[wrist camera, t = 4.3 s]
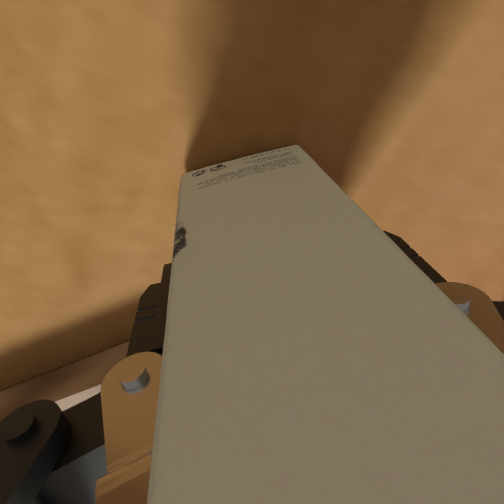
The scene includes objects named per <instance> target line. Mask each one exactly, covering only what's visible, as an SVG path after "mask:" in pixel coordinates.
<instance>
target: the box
mask: <svg viewBox="0 0 504 504" xmlns="http://www.w3.org/2000/svg"><path fill="white" fill-rule="evenodd" d="M147 504H504V354H503V353H502V352H501V351H500V350H499V349H498V348H497V347H496V346H495V345H494V344H493V343H492V341H491V340H490V339H489V338H488V337H487V336H486V335H485V334H484V333H483V332H482V331H481V330H480V329H479V328H478V327H477V326H476V325H475V324H474V323H473V322H472V321H471V320H470V319H469V318H468V317H467V316H466V315H465V314H464V313H463V312H462V311H461V310H460V309H459V308H458V307H457V306H456V305H455V304H454V303H453V302H452V301H451V300H450V299H449V298H448V297H447V296H446V295H445V294H444V293H443V292H442V291H441V290H440V289H439V288H438V287H437V286H436V285H435V284H434V282H433V281H432V280H431V279H430V278H429V277H428V276H427V275H426V274H425V273H424V272H423V271H422V270H421V269H420V268H419V267H418V266H417V265H416V264H415V263H414V262H413V261H412V260H411V259H410V258H409V257H408V256H407V255H406V254H405V253H404V252H403V251H402V250H401V249H400V248H399V247H398V246H397V245H396V244H395V243H394V242H393V241H392V240H391V239H390V238H389V237H388V236H387V235H386V234H385V233H384V232H383V231H382V230H381V229H380V228H379V227H378V226H377V225H376V223H375V222H374V221H373V220H372V219H371V218H370V217H369V216H368V215H367V214H366V213H365V212H364V211H363V210H362V209H361V208H360V207H359V206H358V205H357V204H356V203H355V202H354V201H353V200H352V199H351V198H350V197H349V196H348V195H347V194H346V193H345V192H344V191H343V190H342V189H341V188H340V187H339V186H338V185H337V184H336V183H335V182H334V181H333V180H332V179H331V178H330V177H329V176H328V175H327V174H326V173H325V172H324V171H323V170H322V168H321V167H320V166H319V165H318V164H317V163H316V162H315V161H314V160H313V159H312V158H311V157H310V156H309V155H308V154H307V153H306V152H305V151H304V150H303V149H302V148H301V147H300V146H299V145H292V146H288V147H284V148H279V149H275V150H270V151H266V152H262V153H258V154H254V155H250V156H246V157H242V158H239V159H235V160H231V161H227V162H223V163H219V164H215V165H211V166H208V167H204V168H201V169H198V170H194V171H190V172H188V173H185V174H183V175H182V176H181V180H180V189H179V198H178V208H177V217H176V230H175V239H174V249H173V259H172V267H171V276H170V285H169V295H168V304H167V317H166V327H165V336H164V345H163V353H162V363H161V374H160V385H159V394H158V403H157V412H156V421H155V430H154V439H153V448H152V458H151V467H150V476H149V486H148V496H147Z"/></svg>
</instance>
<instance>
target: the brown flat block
mask: <svg viewBox="0 0 504 504" xmlns="http://www.w3.org/2000/svg"><path fill="white" fill-rule="evenodd" d="M129 342H130V341H128V342H125V343H123V344H120V345H117V346H115V347H112V348H110V349H107V350H105V351H102V352H99V353H97V354H94V355H92V356H89V357H87V358H84V359H81V360H79V361H76V362H74V363H71V364H69V365H66V366H63V367H61V368H58V369H56V370H53V371H51V372H48V373H45V374H43V375H40V376H38V377H35V378H33V379H30V380H27V381H25V382H22V383H20V384H17V385H15V386H12V387H9V388H7V389H4V390H2V391H0V422H1V421H2V420H3V419H4V418H5V417H6V416H7V415H9V414H10V413H11V412H13V411H14V410H16V409H18V408H19V407H21V406H23V405H25V404H27V403H30V402H33V401H37V400H44V399H46V400H52V401H54V402H55V403H57V405H58V406H59V407H60V409H61V410H62V411H64V410H66V409H68V408H70V407H72V406H74V405H76V404H78V403H80V402H82V401H85V400H87V399H89V398H91V397H92V396H94V395H96V394H98V393H99V392H100V391H101V384H102V382H103V379H104V378H105V376H106V374H107V373H108V372H109V371H110V369H112V368H113V367H114V366H115V365H116V364H117V363H118V362H120V361H121V360H123V359H125V358H126V355H127V350H128V346H129Z"/></svg>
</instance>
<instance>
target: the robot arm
mask: <svg viewBox="0 0 504 504" xmlns="http://www.w3.org/2000/svg"><path fill="white" fill-rule="evenodd" d="M383 232H384V233H385V234H386V235H387V236H388V237H389V238H390V239H391V240H392V241H393V242H394V243H395V244H396V245H397V246H398V247H399V248H400V249H401V250H402V251H403V252H404V253H405V254H406V255H407V256H408V257H409V258H410V259H411V260H412V261H413V262H414V263H415V264H416V265H417V266H418V267H419V268H420V269H421V270H422V271H423V272H424V273H425V274H426V275H427V276H428V277H429V278H430V279H431V280H432V281H433V282H434V284H435V285H436V286H437V287H438V288H439V289H440V290H441V291H442V292H443V293H444V294H445V295H446V296H447V297H448V298H449V299H450V300H451V301H452V302H453V303H454V304H455V305H456V306H457V307H458V308H459V309H460V310H461V311H462V312H463V313H464V314H465V315H466V316H467V317H468V318H469V319H470V320H471V321H472V322H473V323H474V324H475V325H476V326H477V327H478V328H479V329H480V330H481V331H482V332H483V333H484V334H485V335H486V336H487V337H488V338H489V339H490V340H491V341H492V343H493V344H494V345H495V346H496V347H497V348H498V349H499V350H500V351H501V352H502V353H503V354H504V302H498V301H492V300H491V299H490V298H489V296H488V295H486V294H485V293H484V292H482V291H481V290H479V289H477V288H475V287H473V286H470V285H467V284H463V283H457V282H447V281H446V280H445V279H444V278H443V277H442V276H441V275H440V274H439V273H438V272H436V271H435V270H434V269H433V268H432V267H431V266H430V265H429V264H428V263H427V262H426V261H425V260H424V259H423V258H422V257H421V256H420V257H419V256H418V254H417V253H416V252H415V251H414V250H413V249H410V246H409V245H408V244H407V243H406V242H405V241H404V240H403V239H401V238H400V237H398V236H396V235H393V234H391V233H389V232H386V231H383ZM171 267H172V263H169V264H165V265H164V268H163V274H162V280H161V283H157V284H152V285H150V286H149V287H148V288H147V290H146V291H145V292H144V293H143V295H142V296H141V297H140V301H139V305H138V309H137V310H138V312H137V314H136V318H135V323H134V326H133V330H132V334H131V338H130V342H129V346H128V350H127V355H126V358H125V359H123V360H121V361H120V362H118V363H117V364H116V365H115V366H114V367H113V368H112V369H110V371H109V372H108V373H107V374H106V376H105V378H104V379H103V382H102V384H101V391H100V392H99V393H98V394H96V395H94V396H92V397H91V398H89V399H87V400H85V401H82V402H80V403H78V404H76V405H74V406H72V407H70V408H68V409H66V410H64V411H62V410H61V409H60V407H59V406H58V405H57V403H55V402H54V401H52V400H46V399H44V400H37V401H33V402H30V403H27V404H25V405H23V406H21V407H19V408H18V409H16V410H14V411H13V412H11V413H10V414H9V415H7V416H6V417H5V418H4V419H3V420H2V421H1V422H0V504H147V496H148V486H149V476H150V467H151V458H152V448H153V439H154V430H155V421H156V412H157V403H158V394H159V385H160V374H161V363H162V353H163V345H164V336H165V327H166V317H167V304H168V295H169V285H170V276H171Z"/></svg>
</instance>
